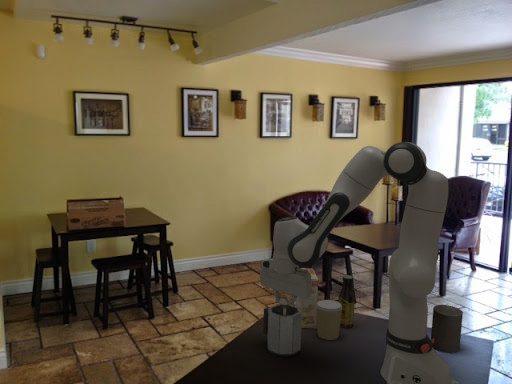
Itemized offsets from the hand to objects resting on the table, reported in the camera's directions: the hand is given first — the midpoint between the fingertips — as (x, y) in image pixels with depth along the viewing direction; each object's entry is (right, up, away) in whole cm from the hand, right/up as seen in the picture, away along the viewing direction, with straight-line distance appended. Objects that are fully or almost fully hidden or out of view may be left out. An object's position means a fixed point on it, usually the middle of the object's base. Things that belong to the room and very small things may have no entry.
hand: (284, 304), depth 153 cm
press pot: (-1, -16, +3) cm, 16 cm away
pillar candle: (+57, -17, +5) cm, 60 cm away
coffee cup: (+17, -15, +13) cm, 26 cm away
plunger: (0, -11, +1) cm, 12 cm away
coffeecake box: (+10, -13, +26) cm, 31 cm away
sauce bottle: (+25, -14, +22) cm, 36 cm away
